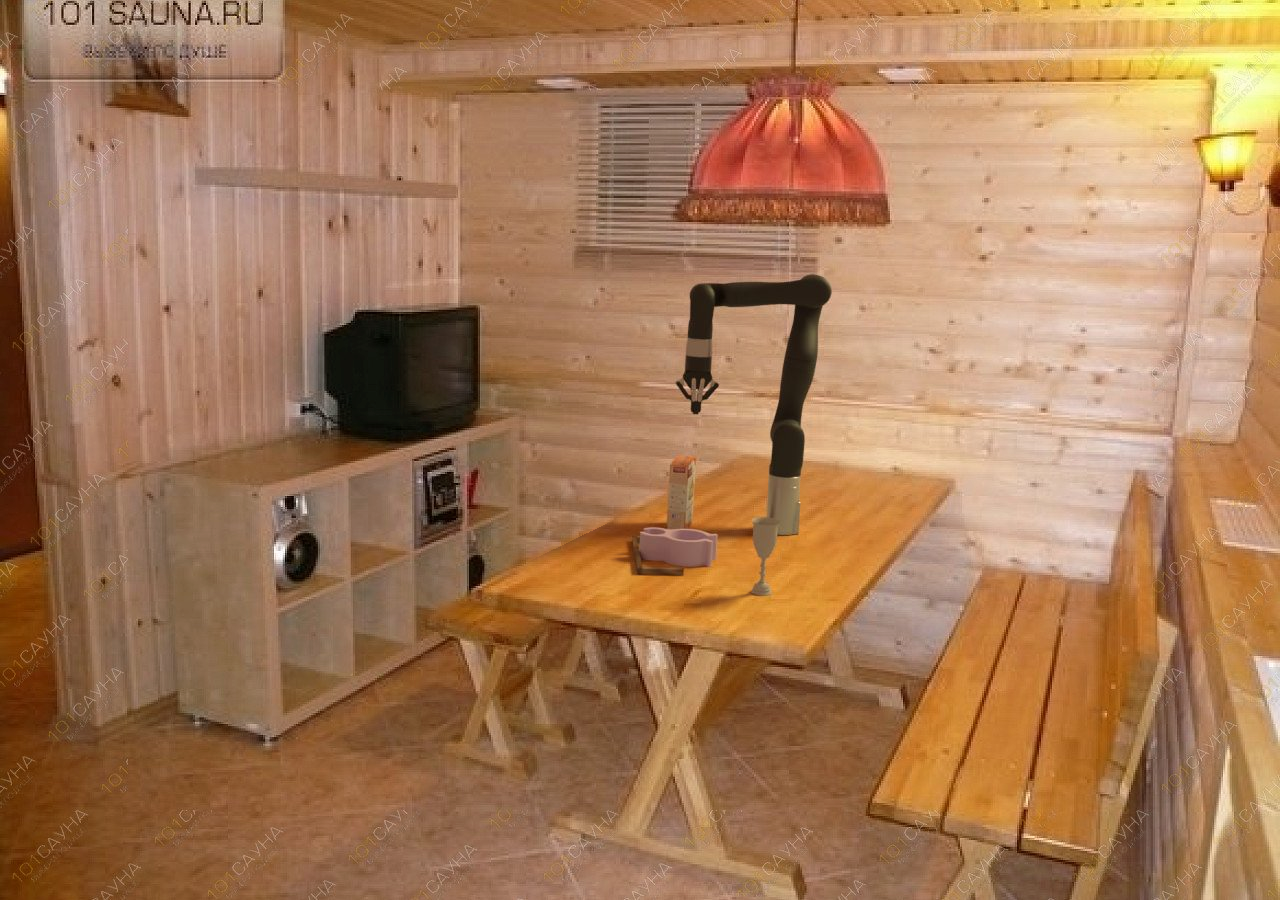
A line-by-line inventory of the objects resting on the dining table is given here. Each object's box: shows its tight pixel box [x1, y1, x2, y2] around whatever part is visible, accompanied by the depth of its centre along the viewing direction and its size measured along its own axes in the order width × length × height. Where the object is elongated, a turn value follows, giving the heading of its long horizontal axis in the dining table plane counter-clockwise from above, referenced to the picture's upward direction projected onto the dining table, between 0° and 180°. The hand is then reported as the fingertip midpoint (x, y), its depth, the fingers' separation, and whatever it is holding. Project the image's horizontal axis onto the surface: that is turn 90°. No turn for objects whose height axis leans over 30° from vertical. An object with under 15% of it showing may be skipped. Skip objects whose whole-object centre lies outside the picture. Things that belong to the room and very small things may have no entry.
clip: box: [639, 526, 718, 568], centre depth 289 cm, size 20×12×7 cm, turn 75°
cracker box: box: [666, 455, 697, 529], centre depth 315 cm, size 14×6×21 cm, turn 168°
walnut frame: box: [631, 535, 685, 576], centre depth 289 cm, size 12×30×2 cm, turn 3°
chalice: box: [750, 516, 780, 597], centre depth 263 cm, size 7×7×18 cm
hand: (695, 413), depth 312 cm, fingers closed
